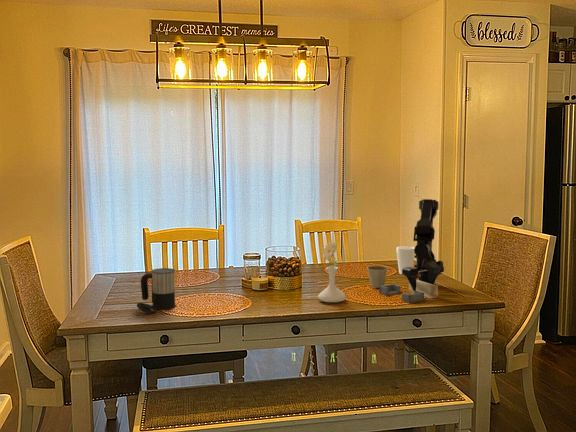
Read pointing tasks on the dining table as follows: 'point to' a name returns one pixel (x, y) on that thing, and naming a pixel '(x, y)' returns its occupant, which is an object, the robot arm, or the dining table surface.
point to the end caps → (407, 298)
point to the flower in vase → (331, 277)
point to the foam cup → (405, 257)
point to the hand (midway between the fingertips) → (422, 289)
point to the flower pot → (377, 275)
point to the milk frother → (158, 290)
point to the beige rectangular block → (425, 289)
